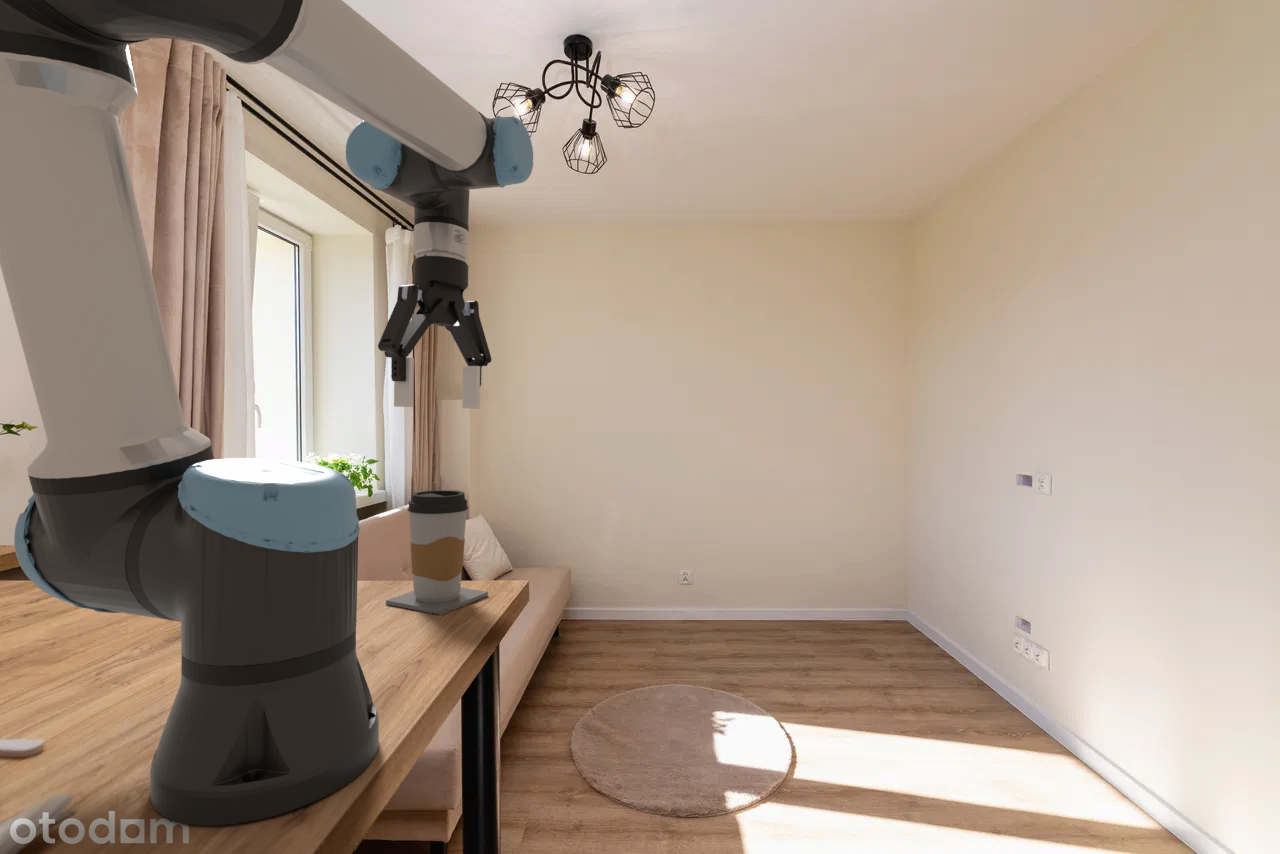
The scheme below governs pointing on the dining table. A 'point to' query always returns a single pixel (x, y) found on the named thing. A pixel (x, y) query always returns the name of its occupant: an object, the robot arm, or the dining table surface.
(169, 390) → the robot arm
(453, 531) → the coffee cup
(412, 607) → the coaster
